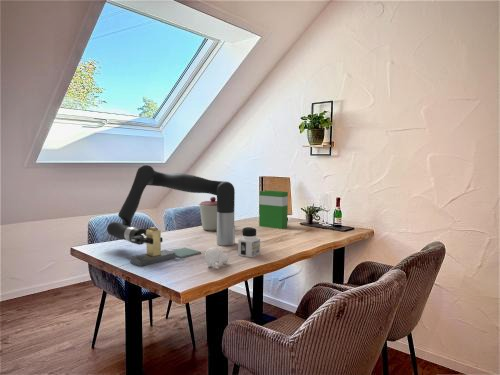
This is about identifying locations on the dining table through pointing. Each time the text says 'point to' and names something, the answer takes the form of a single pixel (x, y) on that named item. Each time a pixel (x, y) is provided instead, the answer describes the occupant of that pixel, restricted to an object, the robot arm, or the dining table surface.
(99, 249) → the dining table surface
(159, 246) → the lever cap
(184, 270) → the dining table surface
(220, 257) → the white humped figurine
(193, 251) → the mat
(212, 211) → the canister
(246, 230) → the container
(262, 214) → the green cereal box
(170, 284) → the dining table surface
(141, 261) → the plane body
